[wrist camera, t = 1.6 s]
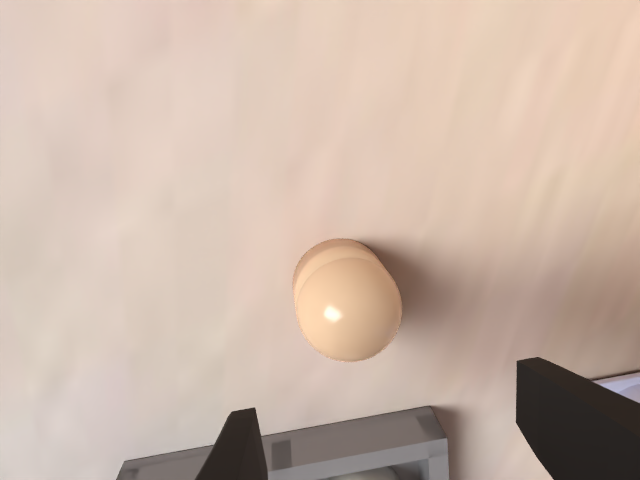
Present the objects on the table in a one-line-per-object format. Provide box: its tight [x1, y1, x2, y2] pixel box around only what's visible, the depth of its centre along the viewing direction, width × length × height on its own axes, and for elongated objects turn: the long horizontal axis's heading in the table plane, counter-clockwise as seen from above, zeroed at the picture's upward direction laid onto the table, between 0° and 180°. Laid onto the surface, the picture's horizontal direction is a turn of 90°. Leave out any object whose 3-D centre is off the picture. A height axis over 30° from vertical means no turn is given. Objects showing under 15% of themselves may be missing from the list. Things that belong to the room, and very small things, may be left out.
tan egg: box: [293, 239, 402, 362], centre depth 18 cm, size 4×4×5 cm
